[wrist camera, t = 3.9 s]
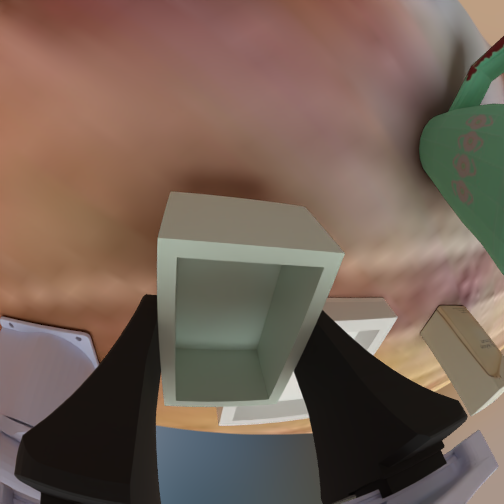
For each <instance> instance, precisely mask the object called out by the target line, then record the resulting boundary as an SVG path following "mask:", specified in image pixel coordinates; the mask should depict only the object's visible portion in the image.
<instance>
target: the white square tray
mask: <svg viewBox="0 0 504 504" xmlns="http://www.w3.org/2000/svg"><path fill="white" fill-rule="evenodd" d="M322 310H323V311H324V312H325V313H326V314H327V315H328V316H329V317H330V318H332V319H333V320H334V321H335V322H336V323H337V324H338V325H339V326H340V327H341V328H342V329H343V330H344V331H345V332H346V333H347V334H349V335H350V336H351V337H352V338H353V339H354V340H355V341H356V342H357V343H359V344H360V345H361V346H362V347H363V348H365V349H366V350H367V351H368V352H369V353H371V354H372V355H374V354H375V352H376V351H377V349H378V348H379V346H380V345H381V343H382V342H383V340H384V339H385V337H386V335H387V334H388V332H389V331H390V329H391V327H392V326H393V324H394V323H395V321H396V319H397V316H396V314H395V313H394V312H393V310H392V309H391V308H390V306H389V305H388V304H387V302H386V301H385V300H384V298H327V299H326V302H325V304H324V306H323V309H322ZM216 408H217V417H218V425H219V426H232V425H250V424H263V423H274V422H283V421H291V420H298V419H305V418H309V414H308V411H307V408H306V405H305V402H304V399H303V396H302V393H301V391H300V388H299V385H298V382H297V379H296V377H295V374H294V371H293V373H292V375H291V377H290V379H289V381H288V383H287V385H286V387H285V389H284V391H283V393H282V395H281V397H280V399H279V400H278V402H277V404H269V405H255V406H234V407H216Z"/></svg>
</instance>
